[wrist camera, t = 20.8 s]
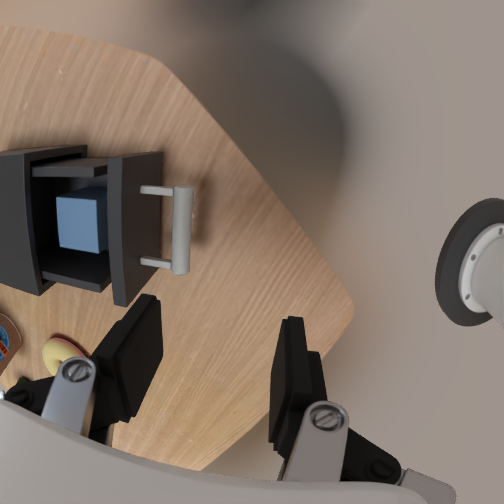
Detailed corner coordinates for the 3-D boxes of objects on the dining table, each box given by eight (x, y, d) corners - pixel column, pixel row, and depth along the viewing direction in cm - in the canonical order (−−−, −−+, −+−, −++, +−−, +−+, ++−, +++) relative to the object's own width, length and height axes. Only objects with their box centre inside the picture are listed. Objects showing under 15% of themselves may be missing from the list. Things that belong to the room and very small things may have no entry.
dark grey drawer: (208, 155, 24) (182, 160, 17) (200, 274, 29) (177, 318, 21) (53, 151, 25) (3, 161, 18) (58, 250, 29) (16, 278, 22)
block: (124, 188, 25) (96, 200, 20) (124, 235, 26) (98, 253, 22) (86, 186, 25) (55, 196, 20) (88, 229, 27) (59, 246, 22)
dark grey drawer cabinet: (87, 144, 25) (23, 153, 16) (90, 257, 30) (39, 296, 21) (7, 150, 26) (-48, 162, 17) (13, 241, 30) (-34, 269, 21)
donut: (86, 329, 37) (42, 331, 36) (72, 343, 32) (27, 344, 32) (108, 385, 39) (64, 383, 38) (98, 402, 34) (52, 398, 34)
